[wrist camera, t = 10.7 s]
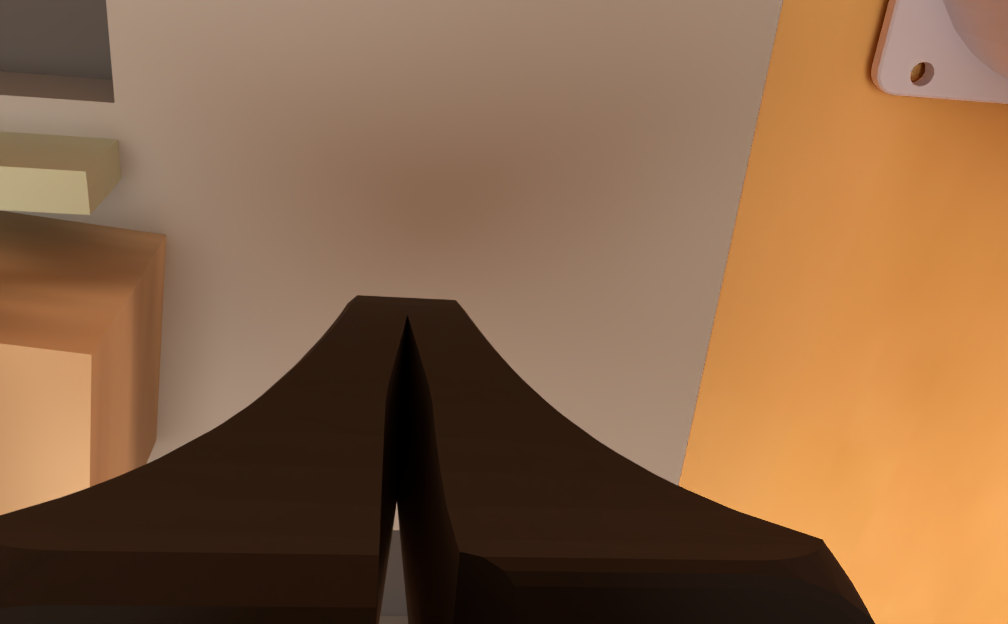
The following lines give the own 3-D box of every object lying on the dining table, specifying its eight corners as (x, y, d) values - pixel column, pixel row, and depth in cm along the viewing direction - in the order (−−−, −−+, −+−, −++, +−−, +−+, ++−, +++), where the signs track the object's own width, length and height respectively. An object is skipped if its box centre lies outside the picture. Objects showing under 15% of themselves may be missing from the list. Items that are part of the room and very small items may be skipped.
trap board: (771, -124, 19) (855, -116, 15) (621, 625, 28) (653, 741, 24) (-202, -228, 17) (-368, -248, 13) (-30, 621, 25) (-103, 748, 22)
